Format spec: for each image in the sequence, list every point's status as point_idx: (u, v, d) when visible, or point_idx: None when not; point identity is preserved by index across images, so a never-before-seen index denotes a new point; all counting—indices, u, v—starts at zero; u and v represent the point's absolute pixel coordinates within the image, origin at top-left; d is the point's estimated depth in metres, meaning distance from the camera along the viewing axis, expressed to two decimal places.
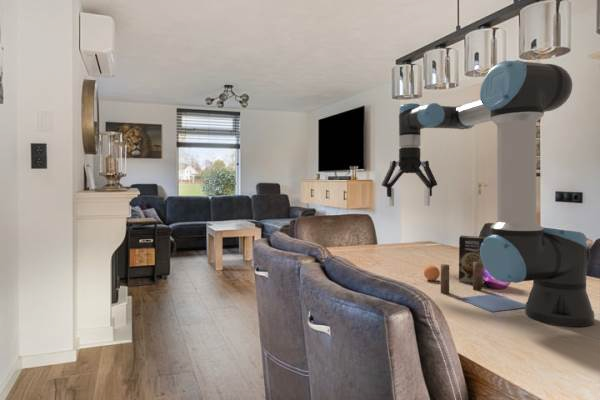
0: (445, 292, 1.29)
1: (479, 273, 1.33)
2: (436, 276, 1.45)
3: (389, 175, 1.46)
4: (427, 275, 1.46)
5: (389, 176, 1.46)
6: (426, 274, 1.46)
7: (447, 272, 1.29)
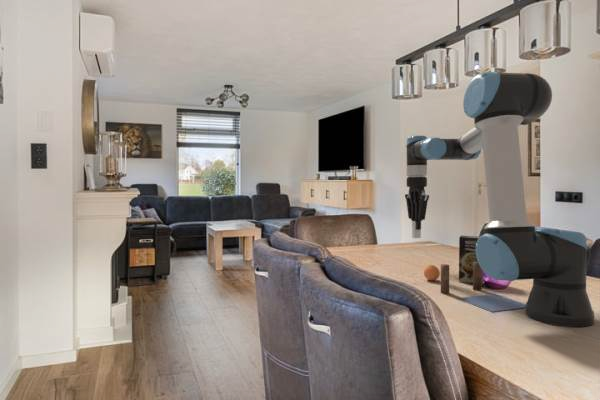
0: (445, 292, 1.29)
1: (479, 273, 1.33)
2: (436, 276, 1.45)
3: (408, 208, 1.60)
4: (427, 275, 1.46)
5: (408, 208, 1.59)
6: (426, 274, 1.46)
7: (447, 272, 1.29)
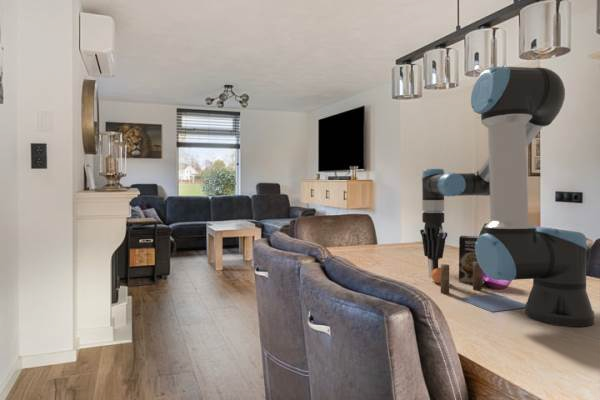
0: (445, 292, 1.29)
1: (479, 273, 1.33)
2: None
3: (423, 244, 1.50)
4: (433, 279, 1.43)
5: (424, 245, 1.50)
6: (433, 277, 1.43)
7: (447, 272, 1.29)
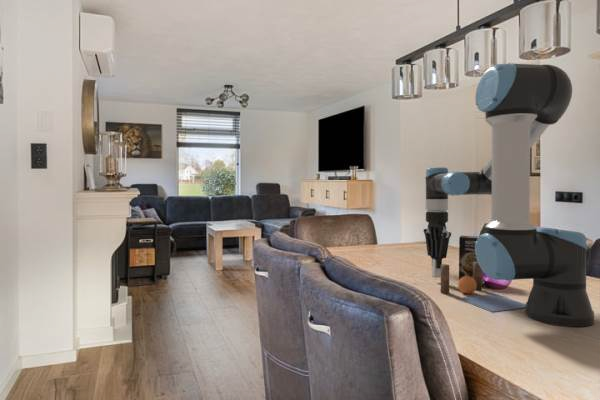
0: (445, 292, 1.29)
1: (479, 273, 1.33)
2: (473, 289, 1.27)
3: (427, 244, 1.48)
4: (463, 287, 1.28)
5: (427, 245, 1.48)
6: (461, 286, 1.28)
7: (447, 272, 1.29)
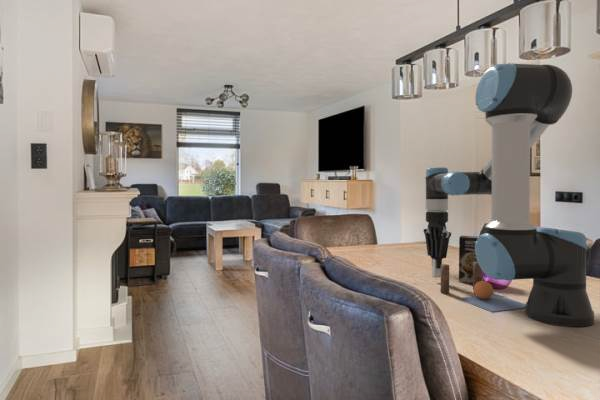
0: (445, 292, 1.29)
1: (479, 273, 1.33)
2: None
3: (427, 244, 1.48)
4: (474, 290, 1.23)
5: (427, 245, 1.48)
6: (474, 290, 1.23)
7: (447, 272, 1.29)
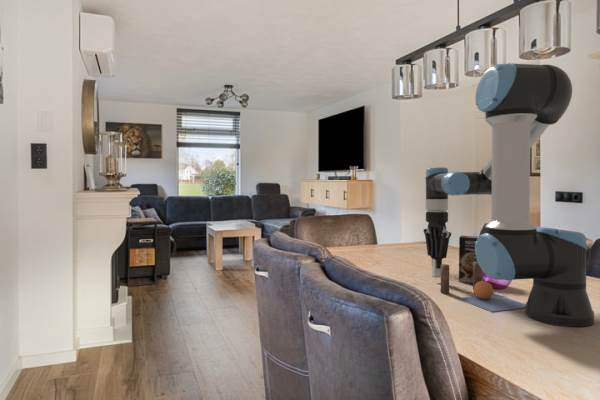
0: (445, 292, 1.29)
1: (479, 273, 1.33)
2: None
3: (427, 244, 1.48)
4: (474, 290, 1.23)
5: (427, 245, 1.48)
6: (474, 290, 1.23)
7: (447, 272, 1.29)
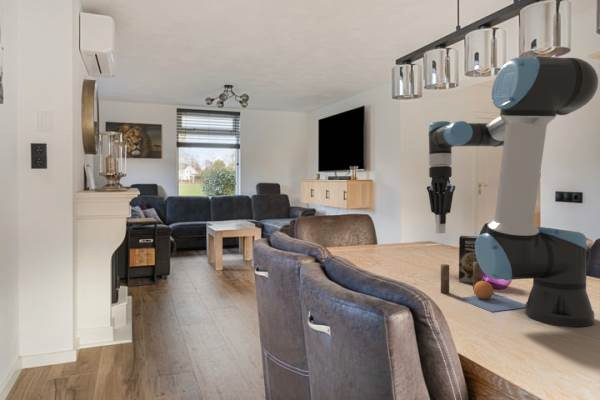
0: (445, 292, 1.29)
1: (479, 273, 1.33)
2: None
3: (430, 201, 1.47)
4: (474, 290, 1.23)
5: (430, 201, 1.47)
6: (474, 290, 1.23)
7: (447, 272, 1.29)
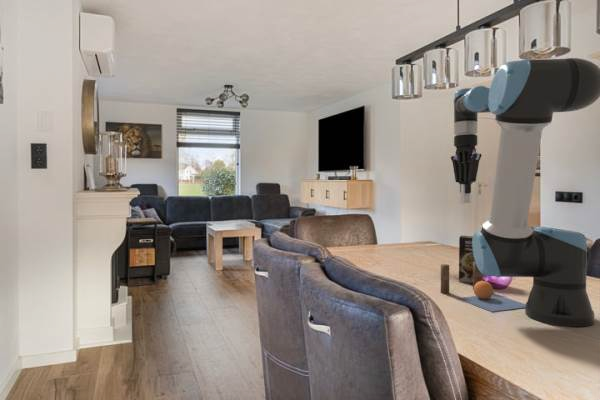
0: (445, 292, 1.29)
1: (479, 273, 1.33)
2: None
3: (454, 171, 1.45)
4: (474, 290, 1.23)
5: (455, 171, 1.44)
6: (474, 290, 1.23)
7: (447, 272, 1.29)
